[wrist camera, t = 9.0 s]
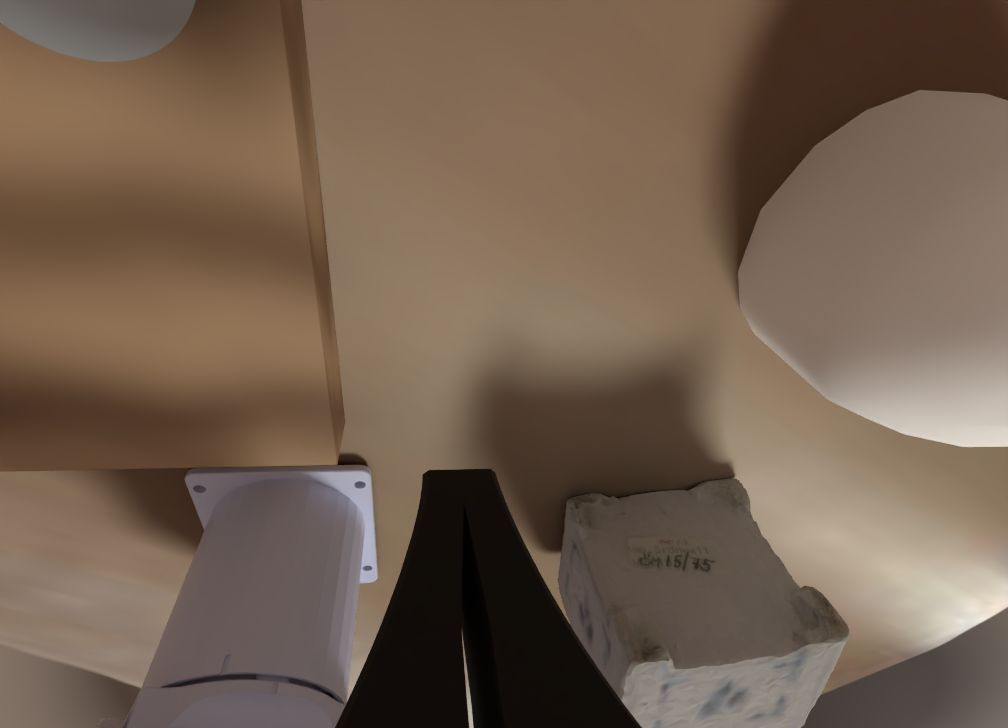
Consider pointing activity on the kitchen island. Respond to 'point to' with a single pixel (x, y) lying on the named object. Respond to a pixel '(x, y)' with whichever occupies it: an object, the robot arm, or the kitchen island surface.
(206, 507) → the robot arm
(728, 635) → the light grey boxy piece
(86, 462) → the tan flat board
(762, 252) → the teardrop
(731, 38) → the kitchen island surface
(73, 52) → the grey ball
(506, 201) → the kitchen island surface
